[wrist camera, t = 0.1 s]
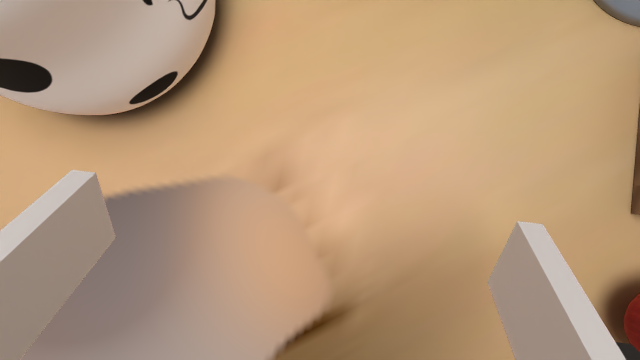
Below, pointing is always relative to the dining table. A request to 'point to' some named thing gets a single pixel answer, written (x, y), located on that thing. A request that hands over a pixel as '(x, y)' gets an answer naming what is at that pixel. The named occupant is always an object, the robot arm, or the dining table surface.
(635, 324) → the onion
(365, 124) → the dining table surface
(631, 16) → the coaster
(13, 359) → the robot arm
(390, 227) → the dining table surface
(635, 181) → the pocket holder
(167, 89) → the milk container
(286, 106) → the dining table surface
